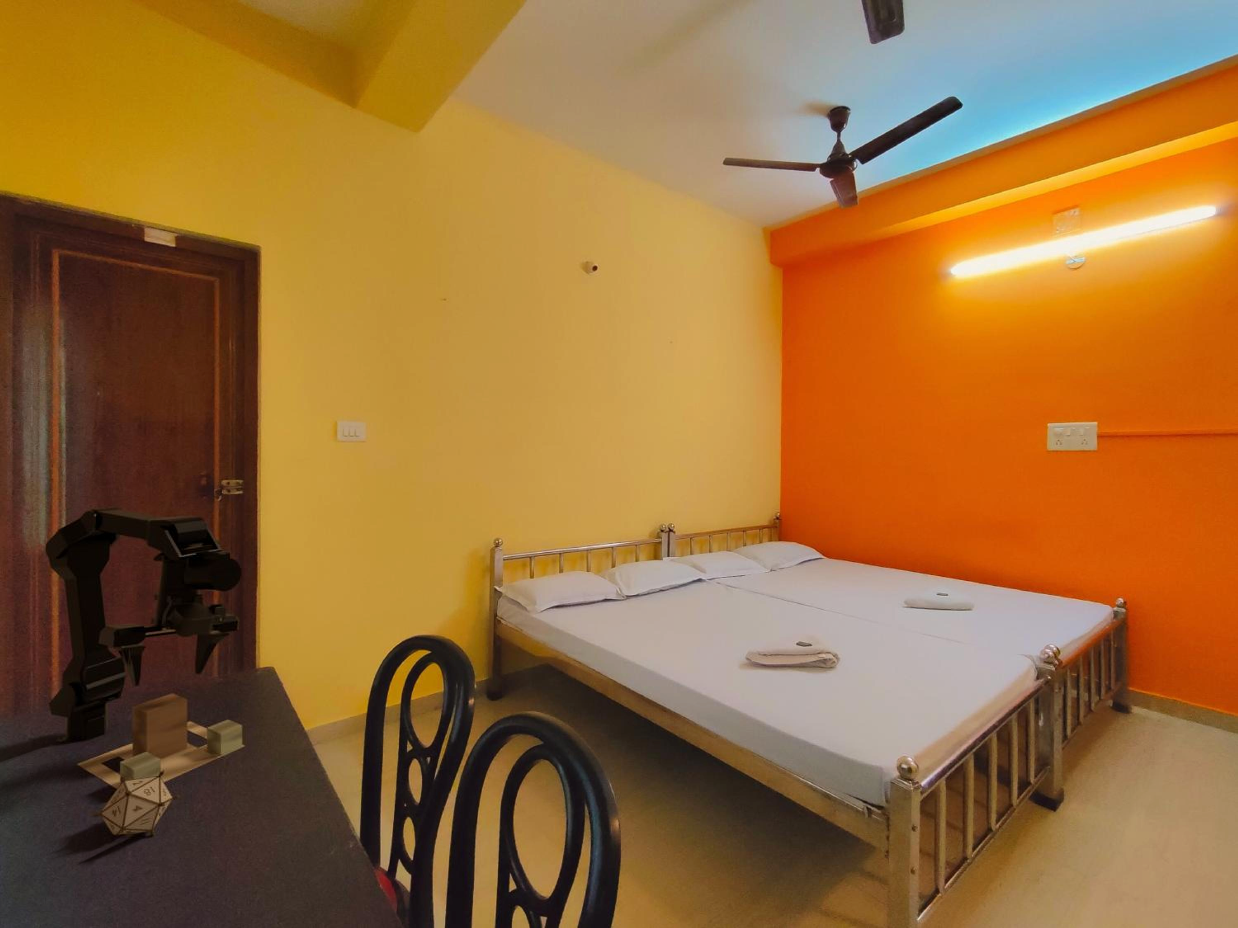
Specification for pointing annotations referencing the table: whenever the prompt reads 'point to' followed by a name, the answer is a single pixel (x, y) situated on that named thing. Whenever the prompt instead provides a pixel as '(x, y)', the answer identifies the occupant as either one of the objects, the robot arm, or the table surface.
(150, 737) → the walnut block
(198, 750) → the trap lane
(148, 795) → the game die
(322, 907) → the table surface
